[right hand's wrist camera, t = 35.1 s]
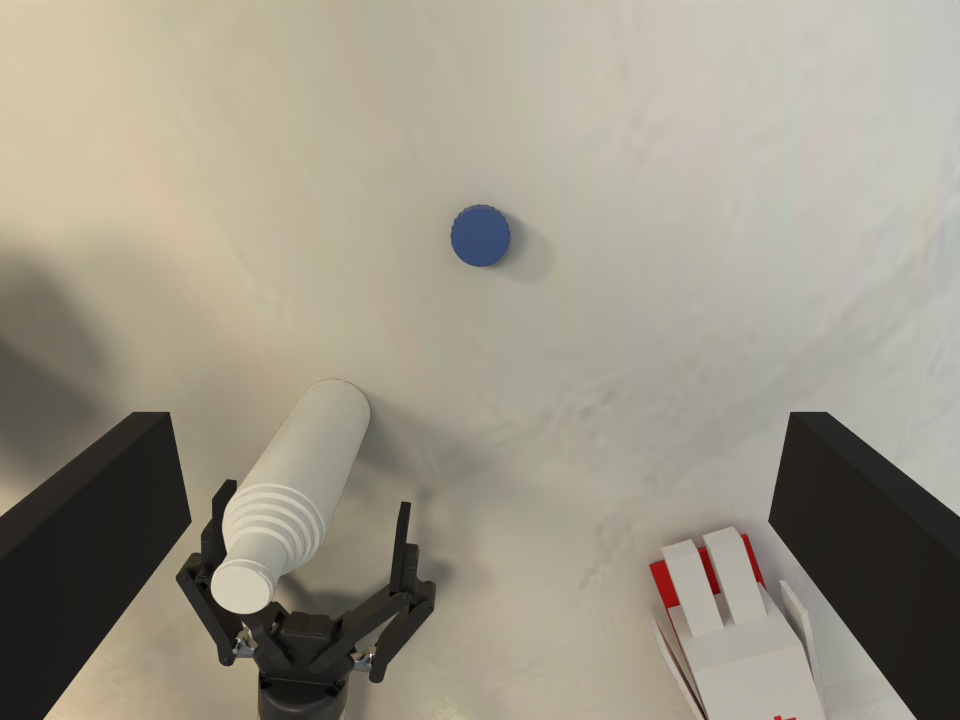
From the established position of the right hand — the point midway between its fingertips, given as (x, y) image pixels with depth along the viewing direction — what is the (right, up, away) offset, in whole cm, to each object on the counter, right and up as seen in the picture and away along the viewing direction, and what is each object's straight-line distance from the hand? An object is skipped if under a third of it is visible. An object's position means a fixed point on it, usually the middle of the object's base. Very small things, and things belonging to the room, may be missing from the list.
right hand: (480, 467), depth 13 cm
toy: (+24, -25, +46) cm, 57 cm away
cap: (0, +11, +30) cm, 32 cm away
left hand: (-12, -8, +32) cm, 36 cm away
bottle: (-12, -2, +37) cm, 39 cm away
